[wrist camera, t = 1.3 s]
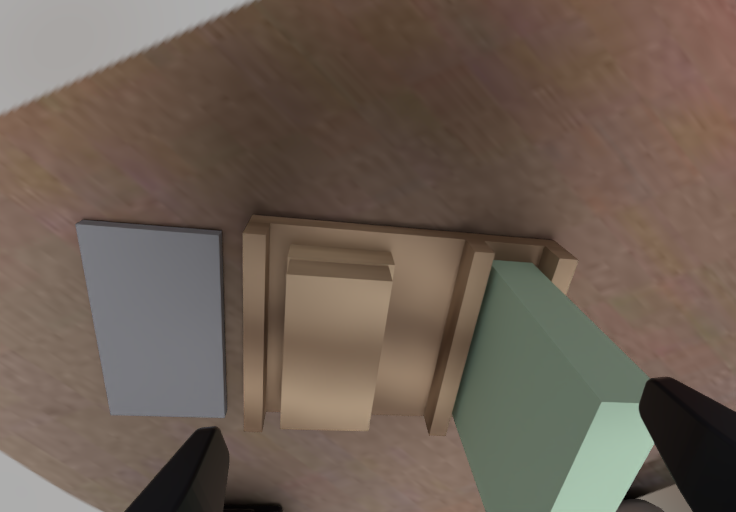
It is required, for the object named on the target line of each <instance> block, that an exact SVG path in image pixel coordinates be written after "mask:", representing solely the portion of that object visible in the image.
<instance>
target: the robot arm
mask: <svg viewBox="0 0 736 512" xmlns="http://www.w3.org/2000/svg"><path fill="white" fill-rule="evenodd" d="M639 414H640V416H641V419H642V421H643V423H644V424H645V426H646V428H647V430H648V432H649V434H650V436H651V438H652V440H653V442H654V444H655V445H656V447H657V449H658V451H659V453H660V455H661V457H662V459H663V461H664V463H665V465H666V466H667V468H668V470H669V472H670V474H671V476H672V478H673V480H674V481H675V483H676V485H677V487H678V489H679V490H680V492H681V493H682V495H683V497H684V498H685V500H686V502H687V503H688V504H689V506H690V508H691V509H692V511H693V512H736V412H735V411H733V410H731V409H729V408H727V407H726V406H724V405H722V404H720V403H718V402H716V401H714V400H713V399H711V398H709V397H707V396H705V395H703V394H701V393H700V392H698V391H696V390H694V389H692V388H690V387H688V386H687V385H685V384H683V383H681V382H679V381H677V380H675V379H673V378H671V377H658V378H651V379H649V380H647V381H646V383H645V386H644V390H643V393H642V396H641V399H640V402H639ZM228 469H229V451H228V448H227V446H226V443H225V440H224V438H223V435H222V433H221V430H220V429H219V428H218V427H216V426H213V427H204V428H199V429H197V430H196V431H195V432H194V433H193V434H192V435H191V436H190V438H189V439H188V440H187V441H186V442H185V443H184V444H183V445H182V447H181V448H180V449H179V450H178V451H177V452H176V453H175V455H174V456H173V457H172V458H171V459H170V460H169V461H168V463H167V464H166V465H165V466H164V467H163V468H162V469H161V471H160V472H159V473H158V474H157V475H156V476H155V477H154V479H153V480H152V481H151V482H150V483H149V484H148V485H147V487H146V488H145V489H144V490H143V491H142V492H141V493H140V495H139V496H138V497H137V498H136V499H135V500H134V501H133V502H132V504H131V505H130V506H129V507H128V508H127V509H126V510H125V512H283V509H282V508H281V507H279V506H224V499H225V492H226V484H227V477H228Z"/></svg>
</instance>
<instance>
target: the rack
mask: <svg viewBox="0 0 736 512" xmlns="http://www.w3.org/2000/svg"><path fill="white" fill-rule="evenodd" d="M291 244H294V245H307V246H320V247H333V248H346V249H359V250H372V251H385V252H391V254H392V257H393V260H394V263H395V269H394V275H393V284H392V290H391V296H390V302H389V308H388V314H387V320H386V326H385V332H384V338H383V345H382V351H381V357H380V363H379V369H378V375H377V381H376V387H375V393H374V400H373V406H372V412H371V415H401V416H424V418H425V422H426V426H427V429H428V433H429V436H446V432H447V429H448V425H449V421H450V418H451V417H453V415H452V410H453V406H454V403H455V399H456V395H457V392H458V388H459V384H460V381H461V377H462V373H463V370H464V366H465V362H466V359H467V355H468V351H469V348H470V344H471V340H472V336H473V333H474V329H475V325H476V322H477V318H478V314H479V311H480V307H481V303H482V300H483V296H484V292H485V289H486V285H487V281H488V277H489V274H490V270H491V266H492V263H493V260H501V261H514V262H527V263H533V264H534V265H535V266H536V267H537V268H538V269H539V270H540V271H541V272H542V273H543V274H544V275H545V276H546V277H547V278H548V279H549V280H550V281H551V282H552V283H553V284H554V285H555V286H556V287H557V288H558V289H559V290H560V291H561V292H562V293H564V294H565V295H566V293H567V291H568V288H569V285H570V282H571V280H572V277H573V274H574V272H575V269H576V266H577V263H578V261H579V260H578V259H577V258H576V257H574V256H573V255H572V254H570V253H569V252H568V251H567V250H565V249H564V248H563V247H562V246H560V245H559V244H558V243H556V242H555V241H554V240H544V239H533V238H521V237H509V236H497V235H486V234H474V233H462V232H450V231H439V230H427V229H415V228H403V227H392V226H380V225H368V224H356V223H345V222H333V221H321V220H309V219H298V218H286V217H274V216H262V215H252V216H251V218H250V220H249V222H248V224H247V226H246V228H245V230H244V232H243V374H244V432H262V430H263V425H264V419H265V414H266V412H281V393H282V370H283V346H284V323H285V300H286V276H287V262H288V254H289V249H290V245H291Z"/></svg>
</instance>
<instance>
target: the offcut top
mask: <svg viewBox="0 0 736 512" xmlns="http://www.w3.org/2000/svg"><path fill="white" fill-rule="evenodd" d="M392 284H393V280H392V277H391V273H390V270H389V266H375V265H361V264H348V263H334V262H320V261H306V260H293V259H290V261H289V265H288V270H287V276H286V300H285V323H284V346H283V370H282V393H281V416H280V429H294V430H338V431H368V430H369V424H370V418H371V412H372V406H373V400H374V393H375V387H376V381H377V375H378V369H379V363H380V357H381V351H382V345H383V338H384V332H385V326H386V320H387V314H388V308H389V302H390V296H391V290H392Z"/></svg>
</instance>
